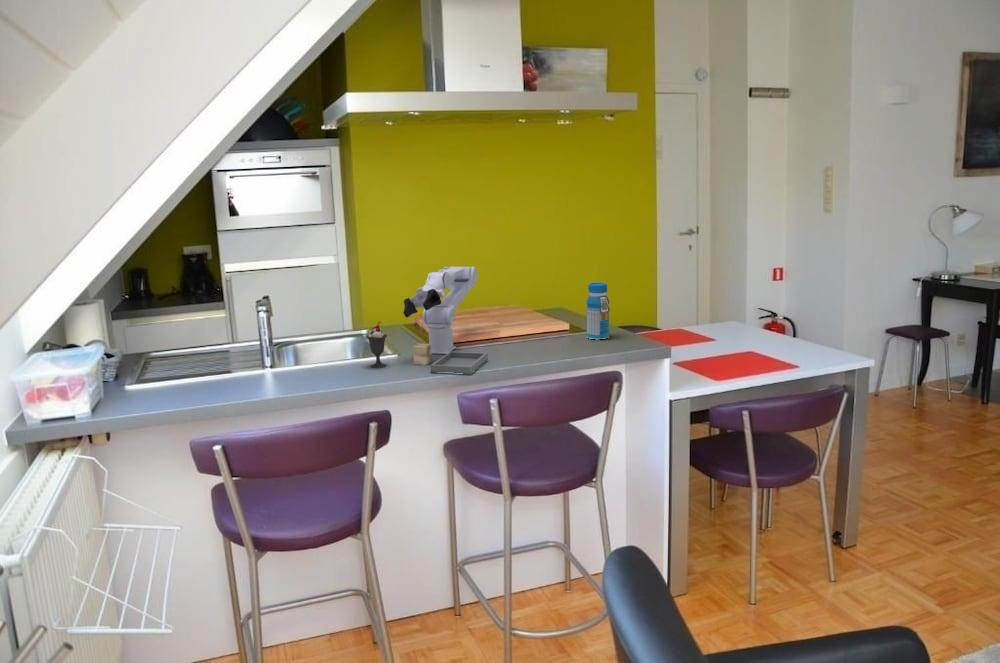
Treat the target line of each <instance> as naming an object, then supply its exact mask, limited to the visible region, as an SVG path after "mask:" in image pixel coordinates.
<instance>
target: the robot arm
mask: <svg viewBox="0 0 1000 663" xmlns="http://www.w3.org/2000/svg"><path fill="white" fill-rule="evenodd" d="M477 280H478V270H477V268H476V267H475V266H454V265H452V266H444V267H443V268H442V269H439V270H438V271H437V272H436V271H433V272H429V273H428V275H427V279H426V280H425V284H424V285H423V287H419V288H417V289H416V292H417V293H416V294H415V295H413V296H412V297H410V298H409V297H407V298H405V299H404V300H403V306H404V308H403V311H402V313H403V315H404V316H405V318H406V319H407V318H409V317H411V316H412V315H414V314H417V313H418V310H417V308H424V309H423V311H422V321H423V324H424V325H426V327H427V328H428V344H431V353H432V354H435V355H436V354H438V355H446V354H447V353H449V352H450V351H451V352H453V350H455V349H456V348H457V346H454V334H453V333H454V332H453V327H452V324H453V323H454V321H455V319H456V315H457V314H456V308H457V307H459V305H460V304H461V303H462V302H463V301H464V299H466V297H467V295H468V293H469V291H470V290H472V289H473V288H474V287H475V286H476V284H477ZM448 289H449V290H450V291H449V292H448V293H447V294H446V293H445V292H444V290H448ZM443 297H444V298H443ZM441 298H442V299H441Z"/></svg>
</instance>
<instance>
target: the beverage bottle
mask: <svg viewBox="0 0 1000 663" xmlns="http://www.w3.org/2000/svg"><path fill="white" fill-rule="evenodd" d="M587 287H588V289H587V291H588V293H589V295H588V296H587V298H586V301H585V302H586V307H585V313H586V320H585V321H586V338H587V339H588V338H589V339H588V340H590V339H606V338H608V339H609V338H610V311H611V310H610V307H609V304H610V300H609V297H608V296H607V293H608V283H606V282H601V281H600V282H597V281H596V282H594V281H593V282H589V283H588V286H587ZM606 340H607V339H606Z"/></svg>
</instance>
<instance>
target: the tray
mask: <svg viewBox="0 0 1000 663" xmlns="http://www.w3.org/2000/svg"><path fill="white" fill-rule="evenodd" d="M488 354H489V353H488V352H474V351H473V352H467V351H450V352H449V353H447V354H443V356H442V357H440V358H439V359H438V360H436V361H434V362H432V364H431V365H430V373H431V372H454V373H463V374H466V375H465V376H472V375H473V374H474V373H473V371H474V370H476V369H477V368H478V367H479V366H481V365H482V364H483V363H484V362H486V361H487V360H488V361H489V355H488ZM488 361H487V362H488ZM487 362H486V363H487ZM484 364H485V363H484ZM484 364H483V365H484ZM483 365H482V366H483ZM482 366H481V367H482ZM477 370H478V369H477ZM477 370H476V371H477ZM472 373H473V374H472Z"/></svg>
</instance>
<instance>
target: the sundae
mask: <svg viewBox="0 0 1000 663" xmlns="http://www.w3.org/2000/svg"><path fill="white" fill-rule="evenodd" d="M380 323H381V321H378V323H377V325H376V326H374V327H371V329H370V333H369V334H366V335H365V337H366V338H367V339H368V343H369V346H370V347H369V348H370V351H371V353H372V354H373V355H374V356H375V359H376V360H375V363H374V364H371V365H370V367H371V368H374V369H380V368H379V367H381V368H385V367H386V366H387V364H386V363H383V362H381V359H380V358H381V355H382V354H383V353H384V351H385V341H386V337H388V335H387V334H386V333H384V332H383V330H382V328H381V326H380V325H379V324H380ZM384 366H385V367H384Z"/></svg>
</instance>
